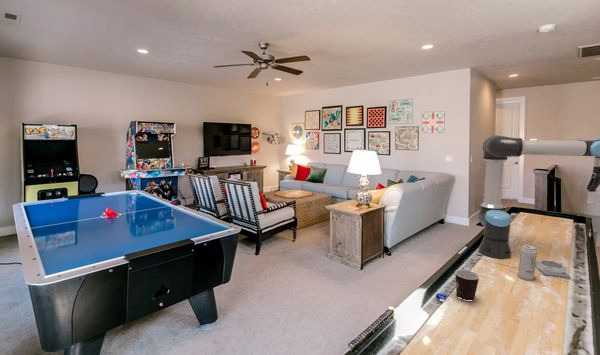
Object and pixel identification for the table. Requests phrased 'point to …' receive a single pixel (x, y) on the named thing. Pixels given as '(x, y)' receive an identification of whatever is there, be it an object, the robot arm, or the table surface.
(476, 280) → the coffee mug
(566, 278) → the slate plate
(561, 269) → the steel collar
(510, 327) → the table surface
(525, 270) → the energy drink can
